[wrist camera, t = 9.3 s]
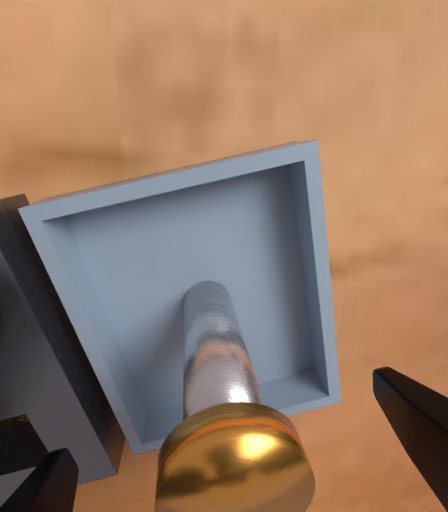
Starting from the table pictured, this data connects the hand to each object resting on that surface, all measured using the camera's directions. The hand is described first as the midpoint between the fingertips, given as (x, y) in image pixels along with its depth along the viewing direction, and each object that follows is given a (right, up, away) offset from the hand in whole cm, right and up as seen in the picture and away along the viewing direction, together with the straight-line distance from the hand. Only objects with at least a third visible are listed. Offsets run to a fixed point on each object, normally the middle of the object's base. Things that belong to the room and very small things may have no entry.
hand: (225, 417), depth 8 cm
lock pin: (-1, +2, +6) cm, 7 cm away
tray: (-1, +3, +7) cm, 7 cm away
